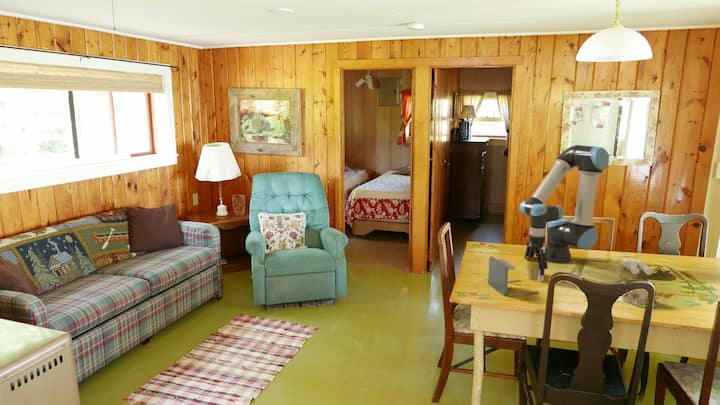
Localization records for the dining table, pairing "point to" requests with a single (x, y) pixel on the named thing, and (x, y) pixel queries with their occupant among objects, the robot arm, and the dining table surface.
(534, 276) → the plant pot
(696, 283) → the dining table surface
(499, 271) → the bracket
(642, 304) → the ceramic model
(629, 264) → the binoculars
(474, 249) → the dining table surface
